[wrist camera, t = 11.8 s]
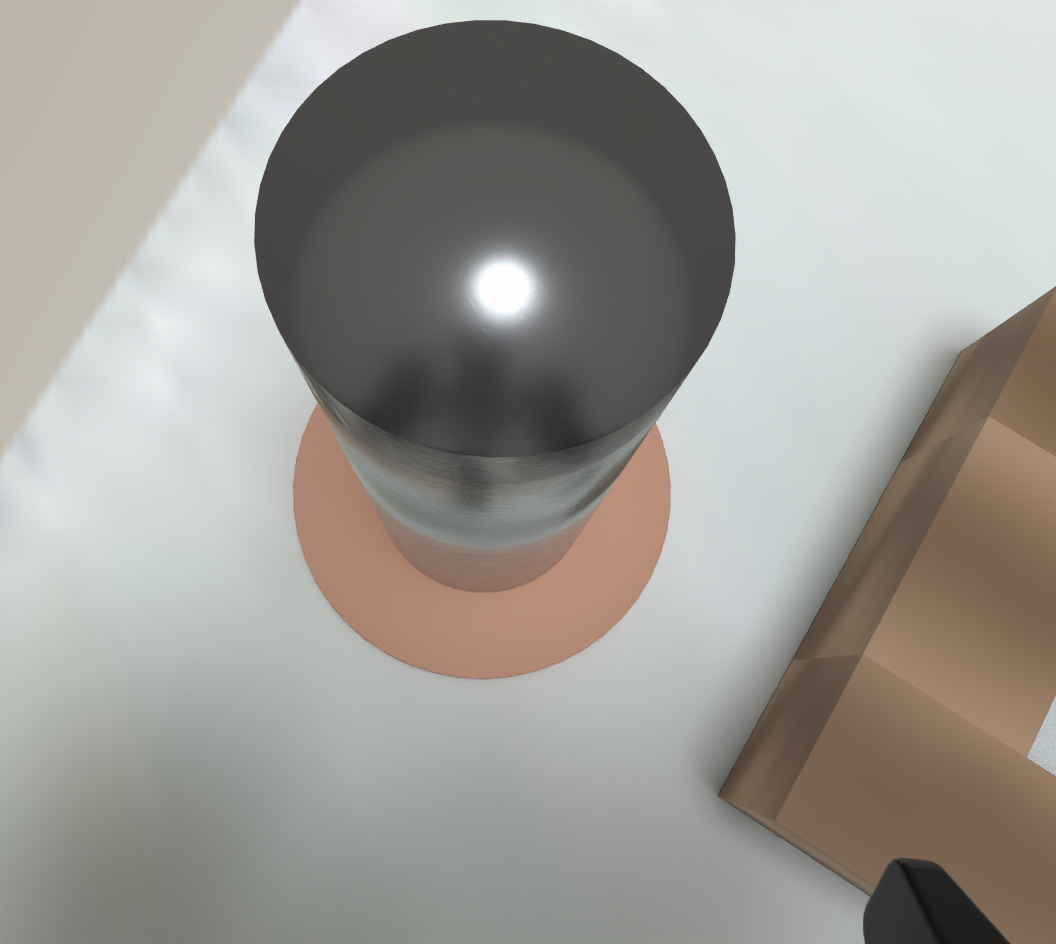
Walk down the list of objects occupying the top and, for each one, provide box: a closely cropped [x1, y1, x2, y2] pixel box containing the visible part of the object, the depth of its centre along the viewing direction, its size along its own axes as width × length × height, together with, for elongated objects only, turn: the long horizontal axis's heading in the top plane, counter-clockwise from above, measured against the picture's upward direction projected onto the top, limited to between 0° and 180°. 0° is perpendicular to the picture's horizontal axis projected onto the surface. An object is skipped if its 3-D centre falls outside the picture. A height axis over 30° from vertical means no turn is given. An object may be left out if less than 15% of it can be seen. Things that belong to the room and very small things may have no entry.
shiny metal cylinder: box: [254, 20, 735, 593], centre depth 15 cm, size 5×5×12 cm
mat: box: [293, 404, 671, 679], centre depth 22 cm, size 9×9×1 cm
